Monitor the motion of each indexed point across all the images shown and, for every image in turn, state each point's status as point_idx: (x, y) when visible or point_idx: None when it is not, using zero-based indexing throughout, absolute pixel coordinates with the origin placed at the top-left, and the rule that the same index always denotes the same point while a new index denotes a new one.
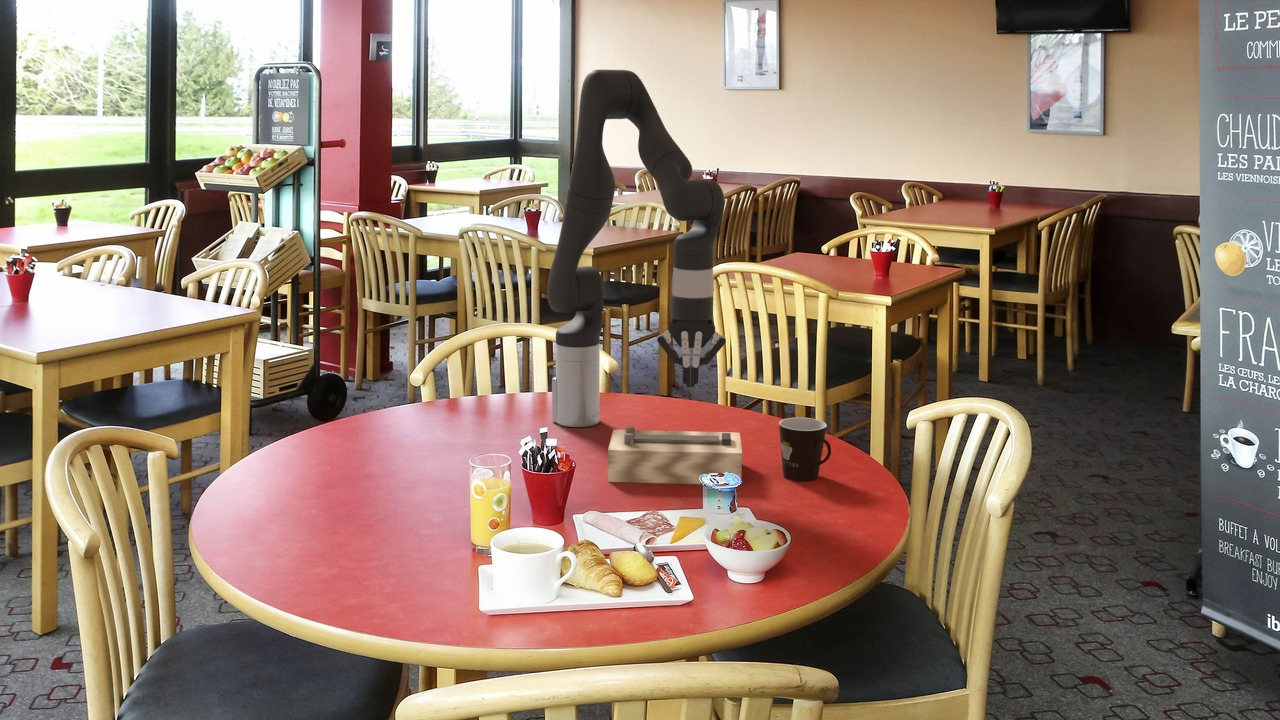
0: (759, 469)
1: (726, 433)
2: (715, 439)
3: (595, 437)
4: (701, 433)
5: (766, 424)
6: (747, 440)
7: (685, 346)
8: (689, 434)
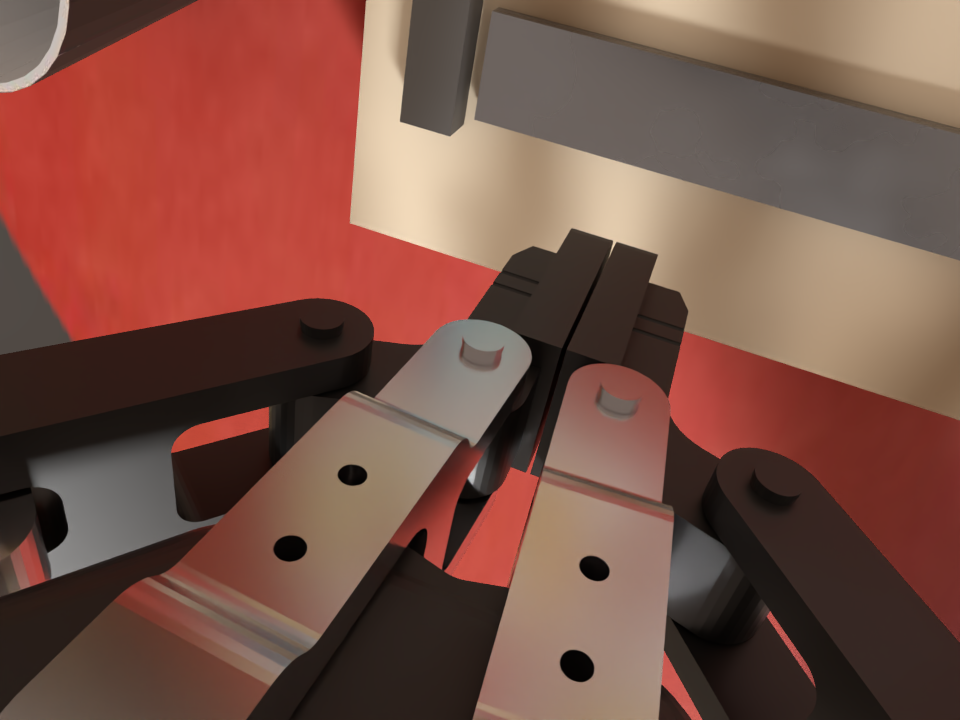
0: (339, 51)
1: (424, 114)
2: (511, 44)
3: (956, 638)
4: None
5: None
6: None
7: (582, 608)
8: None
